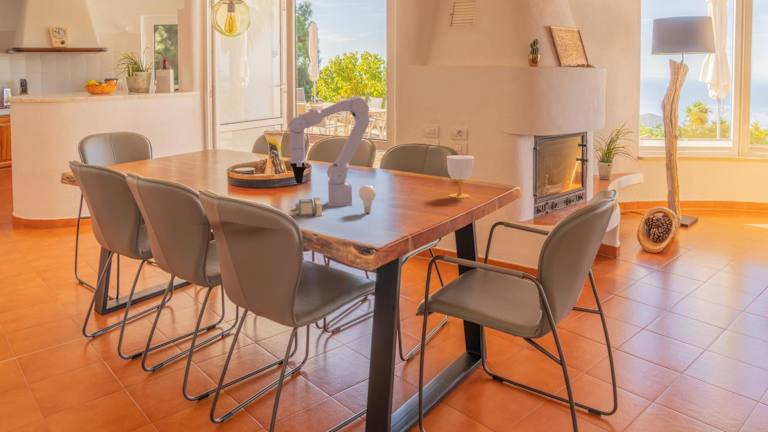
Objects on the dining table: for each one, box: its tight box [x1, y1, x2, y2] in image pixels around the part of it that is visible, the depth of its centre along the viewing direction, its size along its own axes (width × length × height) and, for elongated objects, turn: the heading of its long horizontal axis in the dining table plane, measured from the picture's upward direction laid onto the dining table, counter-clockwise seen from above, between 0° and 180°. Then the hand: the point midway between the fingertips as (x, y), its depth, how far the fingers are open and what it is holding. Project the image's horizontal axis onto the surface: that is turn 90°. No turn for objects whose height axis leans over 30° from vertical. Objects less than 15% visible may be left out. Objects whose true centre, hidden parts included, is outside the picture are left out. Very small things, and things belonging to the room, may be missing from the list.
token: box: [294, 202, 299, 211], centre depth 248 cm, size 4×4×2 cm
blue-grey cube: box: [298, 198, 314, 215], centre depth 239 cm, size 5×5×5 cm
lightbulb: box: [358, 184, 377, 215], centre depth 241 cm, size 6×6×11 cm
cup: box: [446, 154, 475, 199], centre depth 273 cm, size 12×12×17 cm
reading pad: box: [297, 212, 314, 218], centre depth 240 cm, size 5×6×1 cm
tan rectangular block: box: [313, 197, 325, 217], centre depth 242 cm, size 3×12×5 cm, turn 12°
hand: (298, 182), depth 253 cm, fingers open, 5 cm apart
